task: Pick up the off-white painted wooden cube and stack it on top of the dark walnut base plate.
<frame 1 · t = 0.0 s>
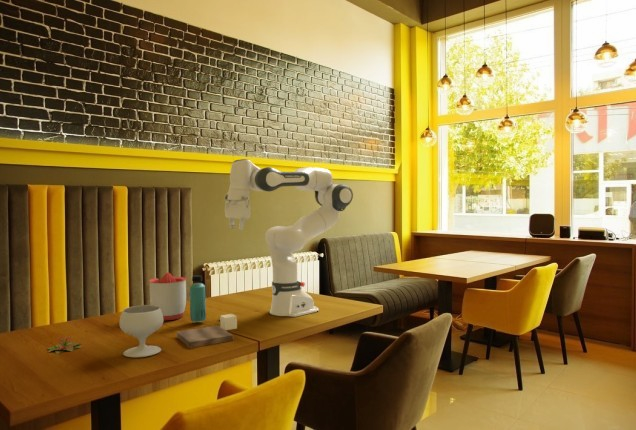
hand: (236, 229, 205), 39 cm above the table, tool pointing down, fingers open, 8 cm apart
citrus juicer: (168, 317, 212), on the table
off-white cube: (228, 328, 194), on the table
beverage bottle: (198, 323, 201), on the table
lily flower: (64, 350, 169), on the table
walnut base: (204, 338, 179), on the table
chalice: (142, 353, 164), on the table
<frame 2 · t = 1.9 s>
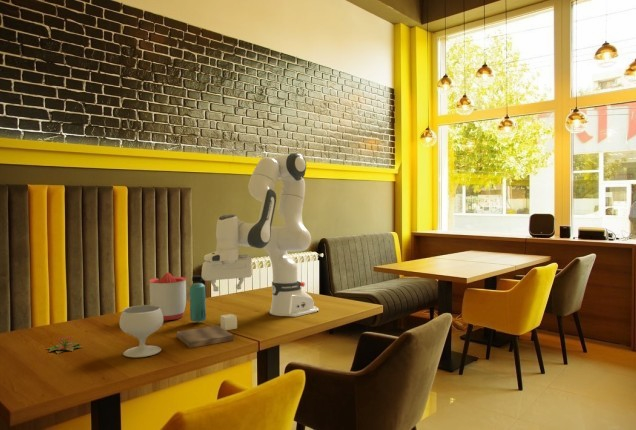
hand: (227, 290, 193), 15 cm above the table, tool pointing down, fingers open, 8 cm apart
nothing on the table moved.
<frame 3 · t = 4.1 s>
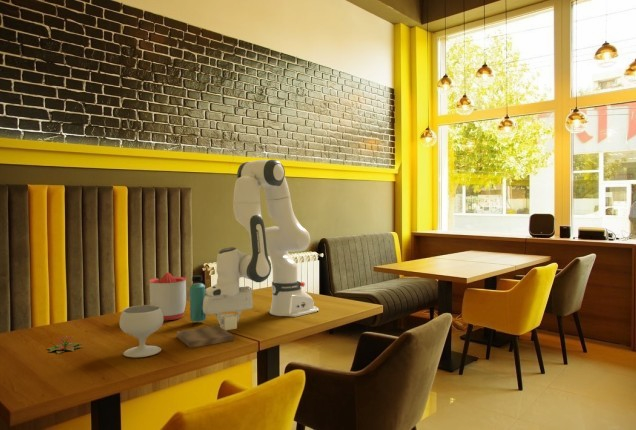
hand: (228, 322, 193), 2 cm above the table, tool pointing down, fingers closed on off-white cube, 5 cm apart
off-white cube: (228, 328, 194), on the table, touching gripper
everything else where it was.
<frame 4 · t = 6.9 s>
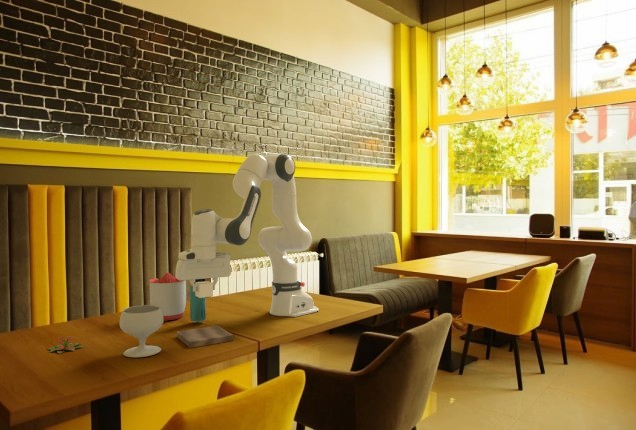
hand: (204, 290, 179), 18 cm above the table, tool pointing down, fingers closed on off-white cube, 5 cm apart
off-white cube: (204, 296, 179), point 16 cm above the table, touching gripper
everything else where it was.
when the fingers open (6 cm above the table, at t = 10.0 s): off-white cube drops 1 cm, resting on walnut base.
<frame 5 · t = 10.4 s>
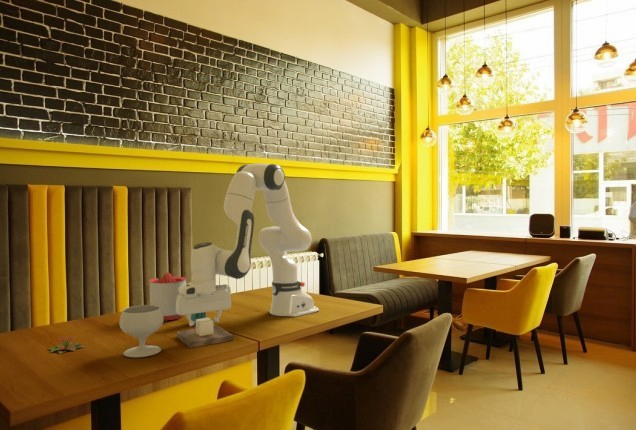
hand: (204, 323, 179), 6 cm above the table, tool pointing down, fingers open, 8 cm apart
off-white cube: (204, 333, 179), point 2 cm above the table, touching walnut base
everything else where it was.
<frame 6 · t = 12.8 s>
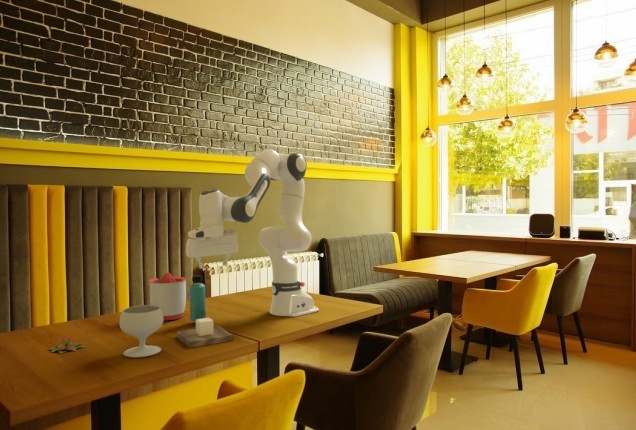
hand: (213, 266, 187), 25 cm above the table, tool pointing down, fingers open, 8 cm apart
nothing on the table moved.
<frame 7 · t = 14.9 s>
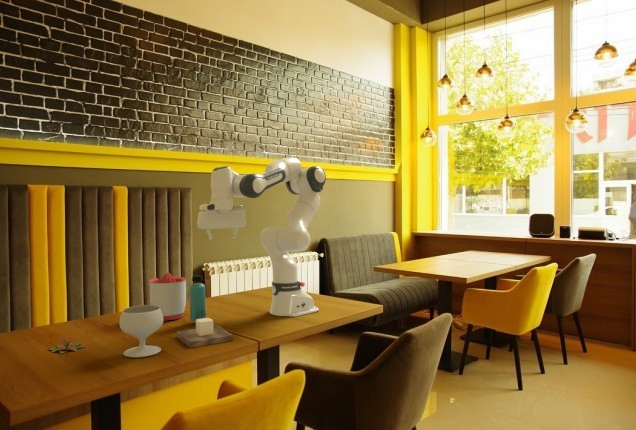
hand: (222, 239, 200), 35 cm above the table, tool pointing down, fingers open, 8 cm apart
nothing on the table moved.
at the end: off-white cube inside the target area on the walnut base (0.1 cm from its centre), point 2.0 cm above the walnut base's base; off-white cube tilted 0°; the gripper is holding nothing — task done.
